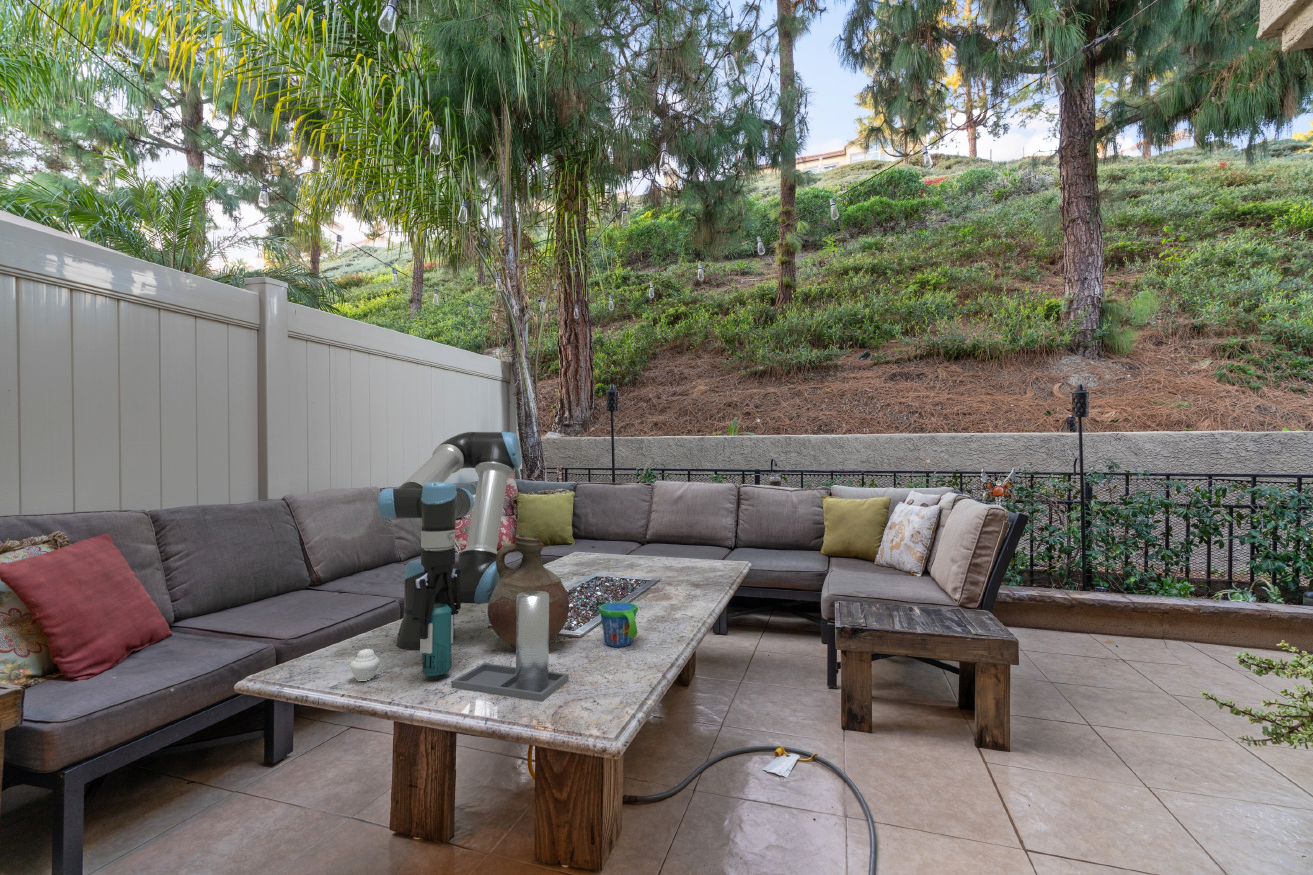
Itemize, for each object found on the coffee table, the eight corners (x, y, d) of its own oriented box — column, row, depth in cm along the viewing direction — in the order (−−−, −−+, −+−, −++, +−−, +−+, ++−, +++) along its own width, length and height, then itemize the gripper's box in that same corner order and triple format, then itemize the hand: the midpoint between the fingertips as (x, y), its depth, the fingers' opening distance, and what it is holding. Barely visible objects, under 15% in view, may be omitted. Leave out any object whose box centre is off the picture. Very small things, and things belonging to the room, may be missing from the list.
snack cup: (590, 638, 159) (590, 602, 160) (623, 633, 164) (623, 597, 164) (612, 655, 145) (612, 615, 146) (648, 648, 150) (648, 610, 151)
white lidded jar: (381, 672, 133) (381, 643, 134) (378, 682, 128) (379, 651, 128) (351, 676, 131) (352, 646, 131) (347, 686, 125) (348, 654, 126)
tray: (483, 673, 133) (483, 662, 133) (568, 684, 126) (568, 674, 126) (451, 692, 122) (451, 680, 122) (542, 706, 115) (542, 694, 115)
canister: (526, 679, 127) (527, 589, 128) (554, 682, 125) (554, 592, 125) (509, 691, 120) (510, 597, 121) (537, 695, 118) (538, 599, 119)
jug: (575, 655, 146) (578, 540, 146) (489, 665, 138) (493, 543, 139) (559, 629, 166) (562, 528, 167) (483, 636, 159) (487, 530, 159)
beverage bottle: (455, 672, 134) (456, 587, 135) (445, 682, 127) (447, 593, 128) (427, 672, 134) (429, 587, 134) (416, 683, 127) (418, 594, 128)
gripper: (421, 555, 121) (420, 663, 120) (477, 542, 140) (476, 636, 139) (394, 553, 124) (392, 659, 123) (452, 541, 142) (451, 633, 141)
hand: (437, 647), depth 131 cm, fingers closed on beverage bottle, 6 cm apart
